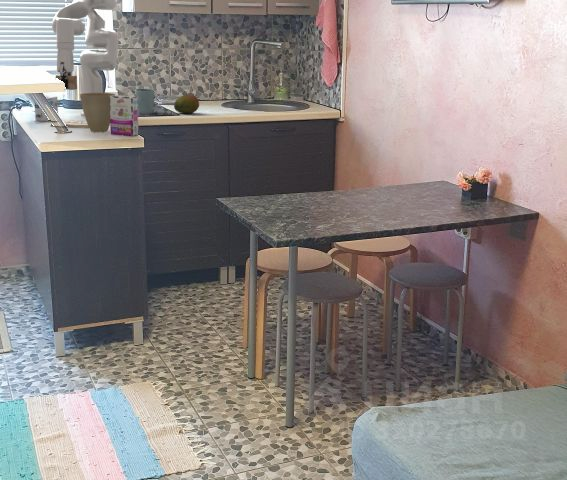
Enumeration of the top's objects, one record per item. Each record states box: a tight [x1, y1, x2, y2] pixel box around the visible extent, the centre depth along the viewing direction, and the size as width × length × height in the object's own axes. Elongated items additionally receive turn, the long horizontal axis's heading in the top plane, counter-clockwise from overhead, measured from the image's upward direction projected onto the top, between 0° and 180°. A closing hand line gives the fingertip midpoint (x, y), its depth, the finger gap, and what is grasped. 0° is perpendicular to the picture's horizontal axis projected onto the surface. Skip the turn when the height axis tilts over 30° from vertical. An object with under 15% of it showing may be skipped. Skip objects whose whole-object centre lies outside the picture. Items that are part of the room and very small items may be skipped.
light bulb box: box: [34, 95, 59, 122], centre depth 378 cm, size 11×7×11 cm, turn 168°
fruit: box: [173, 93, 200, 115], centre depth 421 cm, size 12×13×10 cm
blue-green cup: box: [134, 88, 156, 115], centre depth 417 cm, size 10×10×12 cm
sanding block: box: [55, 74, 78, 91], centre depth 364 cm, size 5×8×6 cm, turn 86°
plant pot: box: [79, 92, 116, 133], centre depth 348 cm, size 15×15×16 cm
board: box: [50, 119, 89, 129], centre depth 364 cm, size 13×18×1 cm
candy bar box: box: [109, 94, 139, 137], centre depth 340 cm, size 11×5×16 cm, turn 69°
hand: (66, 87), depth 365 cm, fingers closed on sanding block, 5 cm apart
